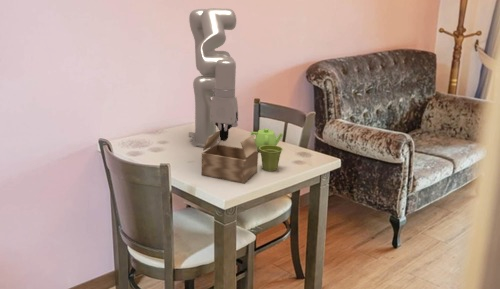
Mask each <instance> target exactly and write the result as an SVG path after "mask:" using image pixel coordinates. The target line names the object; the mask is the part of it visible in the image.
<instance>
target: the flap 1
mask: <svg viewBox="0 0 500 289" xmlns="http://www.w3.org/2000/svg"><path fill="white" fill-rule="evenodd" d="M219 138H220V130H218V131H216V133H214V134H213V135H211V136H209V137H208V139H207V141H206V143H205V146H204V147H202V148H203V149H202V150H203V152H205V151H206V150H208V149H210V148H211V146H212V145H214V144H216V143H217V140H219Z"/></svg>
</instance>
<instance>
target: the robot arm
mask: <svg viewBox="0 0 500 289" xmlns="http://www.w3.org/2000/svg"><path fill="white" fill-rule="evenodd" d="M188 22H189V27H190V31H191V32H192V37H193V40H194V50H195V51H194V53H195V54H194V55H195V67H196V70H197V71H198V72H199V73H200V75H199V76H196V77H195V78H194V80H193V82H192V83H193V84H192V86H193V88H192V89H193V93H194V105H195V106H194V109H195V110H194V115H195V116H194V120H195V123H194V129H195V130H194V132H192V131H189V132H188V134H187V137H188V138H191V139H192V140H191V144H192V145H193V146H196V147H199V148H204V146H205V143H206V141H207V139H208V137H209V136H211V135H213V134H214V133H216V132H217V128H218V131H220V135H219V138H220V141H221V142H222V141H223V142H226V140H228V139H229V130H230V129H232V128H237V127H238V125H239V124H238V121H239V106H238V98H237V97H236V73H237V72H236V68H237V64H236V60H235V59H234V58H233V57H232V56H231V54H230V53H229V52H228V51H227V50H216V49H218V48H220V47H221V46H223V45H224V44H225V42H226V41H227V36H226V31H232V30H235V29H236V26H237V16H236V13H235V11H234V10H233V9H232V8H205V9H204V8H200V9H194V10H192V11H191V12H190V13H189V20H188ZM220 141H219V139H218V140H217V143H216V144H219V145H220ZM216 144H214V145H216ZM214 145H212V146H211V147H213V146H214ZM211 147H210V148H211Z"/></svg>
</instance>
